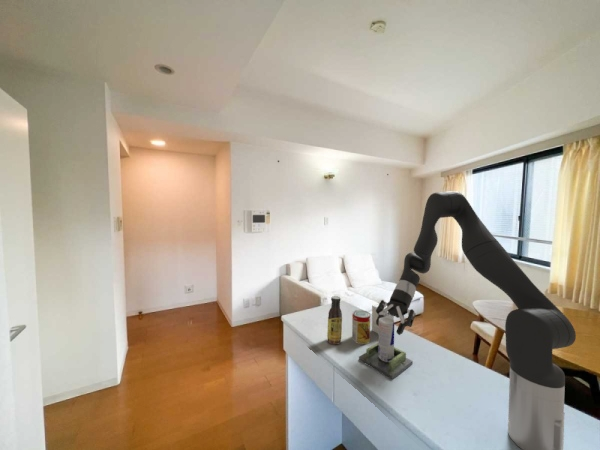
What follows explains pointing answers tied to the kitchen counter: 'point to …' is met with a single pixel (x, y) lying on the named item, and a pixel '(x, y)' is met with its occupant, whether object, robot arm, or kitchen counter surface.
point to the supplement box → (375, 316)
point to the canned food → (361, 326)
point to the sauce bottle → (334, 321)
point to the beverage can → (386, 339)
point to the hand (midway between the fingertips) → (387, 329)
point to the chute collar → (386, 368)
